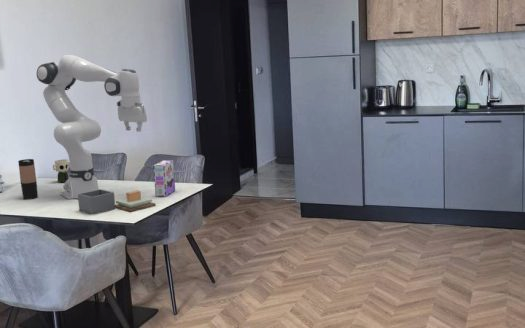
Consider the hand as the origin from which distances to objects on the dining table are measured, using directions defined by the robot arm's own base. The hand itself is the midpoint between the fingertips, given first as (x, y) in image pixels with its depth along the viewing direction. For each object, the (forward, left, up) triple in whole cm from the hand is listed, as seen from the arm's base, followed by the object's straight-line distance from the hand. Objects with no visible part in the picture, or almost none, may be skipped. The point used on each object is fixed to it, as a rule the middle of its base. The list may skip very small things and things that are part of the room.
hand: (133, 130), depth 280 cm
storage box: (+3, -25, -34) cm, 42 cm away
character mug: (-74, -4, -34) cm, 82 cm away
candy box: (+3, +14, -34) cm, 37 cm away
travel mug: (-50, -34, -34) cm, 70 cm away
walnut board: (+13, -11, -34) cm, 38 cm away
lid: (+13, -11, -33) cm, 37 cm away
